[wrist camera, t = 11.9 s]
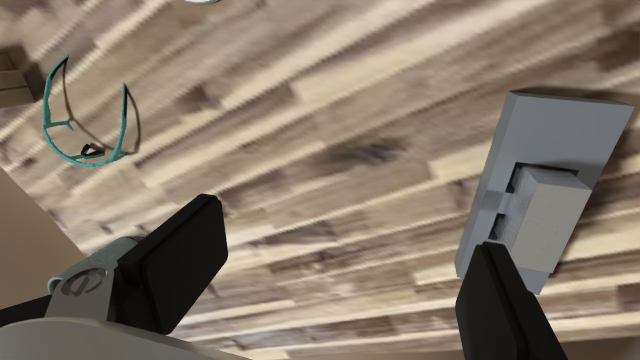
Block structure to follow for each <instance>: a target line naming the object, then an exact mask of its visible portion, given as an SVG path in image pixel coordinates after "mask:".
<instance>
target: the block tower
mask: <svg viewBox="0 0 640 360" xmlns="http://www.w3.org/2000/svg"><path fill="white" fill-rule="evenodd" d="M31 103H35V100H34V98H33V95H32V93H31V91H30V89H29V88H28V87H27V83H26V81H25V78H24V76H23V74H22V72H21V71H20V70H14V69H13V67H12V65H11V62H10V60H9V58H8V56H7V54H0V108H6V107H12V106H19V105H25V104H31Z"/></svg>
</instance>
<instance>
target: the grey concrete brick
mask: <svg viewBox="0 0 640 360" xmlns="http://www.w3.org/2000/svg"><path fill="white" fill-rule="evenodd" d="M509 182H510V183H511V185H512V186H513V187H514V189H515V190H514V193H513V195H512V198H511V201H510V204H509V207H508V209H507V212H506V214H501V213H497V215H496V217H495V220H494V223H493V228H494V231H495V233H496V235H497V240H496V242H497V243H500V244H504V245H505V246H506V248H507V250H508V252H509V254H510V256H511V258H512V260H513V262H514V264H515V266H517V267H522V268H527V269H533V270H538V271H543V272H548V273H553V271H554V269H555V267H556V265H557V263H558V261H559V258H560V256H561V254H562V252H563V250H564V248H565V246H566V244H567V242H568V240H569V238H570V236H571V234H572V232H573V230H574V228H575V225H576V223H577V221H578V219H579V217H580V215H581V213H582V211H583V209H584V207H585V205H586V203H587V201H588V199H589V197H590V194H591V192H592V190H591V189H590V188H589V187H588V186H586V185H585V184H584V183H583V182H581V181H580V180H579V179H578V178H576V177H575V176H574V175H573V174H571V173H570V172H564V171H560V170H559V169H558V168H557V167H552V166H545V165H537V164H530V163H523V162H516V163H515V166H514V168H513V171H512V174H511V177H510V179H509Z"/></svg>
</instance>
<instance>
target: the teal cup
mask: <svg viewBox="0 0 640 360" xmlns="http://www.w3.org/2000/svg"><path fill="white" fill-rule="evenodd" d="M137 244H138V242H136V241H135V240H133V239H130V238H127V237H122V238H118V239H116V240H115V241H113V242H111V243H110V244H108V245H107V246H106V247H104V248H102V249H101V250H99V251H97V252H95V253H93V254H92V255H91V256H89V257H88V258H85V259H84V260H82V261H80V262H78V263H77V264H75V265H73V266H71V267H69V268H68V269H66V270H64V271H63V272H61V273H59V274H57V275H56V276H54V277H52V278H51V279H50V280H49V282H48V290H49V293H50V295H51V294H53V293H54V290H55V288H56V286H57V285H58V283H59V282H60V281H61V280H62V279H63V278H65V277H66V276H68V275H69V274H71V273H72V272H74V271H76V270H78V269H81V268H84V267H87V266H90V265H96V264H105V265H108V266H111V267H112V269H115V268H116V267H117V266H118V264H117V261H116V260H118V259H119V258H120V257H121V256H123V255H124V254H125V253H126V252H128V251H129V250H130V249H132V248H133V247H134V246H135V245H137Z"/></svg>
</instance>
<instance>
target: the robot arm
mask: <svg viewBox="0 0 640 360" xmlns="http://www.w3.org/2000/svg"><path fill="white" fill-rule="evenodd" d="M184 1H187V2H191V3H195V4H210V3H214V2H216V1H219V0H184ZM227 258H228V248H227V241H226V233H225V226H224V218H223V211H222V204H221V201H220V200H218V198H217V196H215V195H209V194H200V195H198V196H197V197H196V198H194V199H193V200H192V201H191V202H189V203H188V204H187V205H186V206H184V207H183V208H182V209H181V210H179V211H178V212H177V213H175V214H174V215H173V216H172V217H170V218H169V219H168V220H167V221H165V222H164V223H163V224H162V225H160V226H159V227H158V228H157V229H155V230H154V231H153V232H152V233H150V234H149V235H148V236H147V237H145V238H144V239H143V240H142V241H140V242H139V243H138V244H137V245H135V246H134V247H133V248H132V249H130V250H129V251H128V252H126V253H125V254H124V255H123V256H121V257H120V258H119V259H118V260H116V261H117V264H118V266H117V267H116V268H115V269H112V267H111V266H108V265H105V264H96V265H90V266H87V267H84V268H81V269H78V270H76V271H74V272H72V273H71V274H69V275H68V276H66V277H65V278H63V279H62V280H61V281H60V282H59V283H58V285H57V286H56V288H55V290H54V293H53V294H51V295H47V296H45V297H41V298H38V299H34V300H31V301H28V302H24V303H21V304H18V305H14V306H11V307H8V308H4V309H1V310H0V360H252V359H248V358H245V357H241V356H238V355H234V354H231V353H227V352H223V351H220V350H216V349H212V348H209V347H205V346H202V345H198V344H194V343H191V342H187V341H183V340H180V339H176V338H173V337H169V336H165V335H168V334H170V333H171V332H172V331H173V330H174V329H175V327H176V326H177V325H178V324H179V322H180V321H181V320H182V318H183V317H184V316H185V314H186V313H187V312H188V311H189V309H190V308H191V307H192V305H193V304H194V303H195V301H196V300H197V299H198V298H199V296H200V295H201V294H202V292H203V291H204V290H205V288H206V287H207V286H208V284H209V283H210V282H211V281H212V279H213V278H214V277H215V275H216V274H217V273H218V271H219V270H220V269H221V268H222V266H223V265H224V264H225V262H226V260H227ZM455 311H456V317H457V322H458V327H459V332H460V337H461V342H462V347H463V351H464V357H465V360H568V359H567V357H566V355H565V353H564V351H563V349H562V347H561V345H560V343H559V341H558V339H557V337H556V335H555V334H554V332H553V330H552V328H551V326H550V324H549V322H548V320H547V318H546V316H545V314H544V312H543V310H542V308H541V306H540V304H539V303H538V301H537V299H536V297H535V295H534V294H533V293H532V292H531V291H529V290H527V288H526V286H525V284H524V282H523V280H522V278H521V276H520V274H519V272H518V270H517V268H516V266H515V264H514V262H513V260H512V258H511V256H510V254H509V252H508V250H507V248H506V246H505V245H504V244H500V243H494V242H488V241H484V242H483V243H482V245H480V244H477V245H476V246H475V249H474V252H473V255H472V257H471V260H470V263H469V266H468V269H467V272H466V274H465V277H464V280H463V283H462V286H461V289H460V291H459V294H458V297H457V300H456V305H455Z"/></svg>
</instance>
